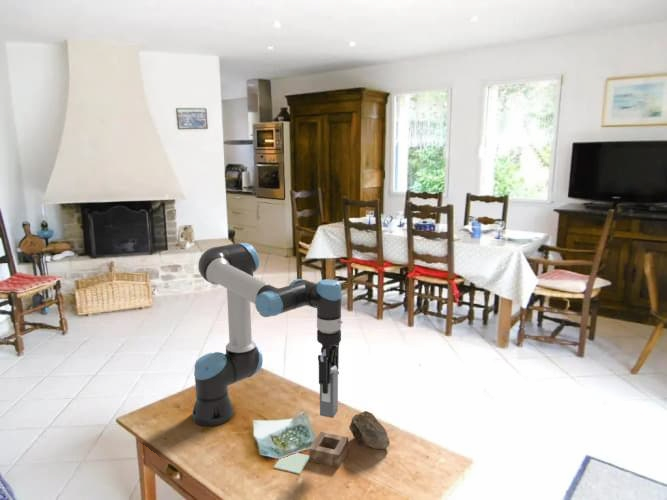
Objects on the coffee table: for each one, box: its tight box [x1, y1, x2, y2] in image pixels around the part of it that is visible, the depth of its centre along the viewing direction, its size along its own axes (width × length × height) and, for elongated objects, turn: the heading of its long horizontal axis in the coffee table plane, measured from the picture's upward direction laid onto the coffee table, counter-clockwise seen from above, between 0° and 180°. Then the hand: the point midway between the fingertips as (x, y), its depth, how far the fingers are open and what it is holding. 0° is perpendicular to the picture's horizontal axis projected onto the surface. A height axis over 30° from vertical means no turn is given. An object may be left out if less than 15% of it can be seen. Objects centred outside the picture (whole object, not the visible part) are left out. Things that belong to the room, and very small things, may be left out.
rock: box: [349, 410, 391, 450], centre depth 162 cm, size 15×8×15 cm
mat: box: [273, 452, 310, 475], centre depth 153 cm, size 9×9×1 cm
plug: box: [319, 365, 339, 419], centre depth 152 cm, size 5×5×16 cm
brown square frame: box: [309, 431, 349, 468], centre depth 156 cm, size 10×10×4 cm
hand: (328, 397), depth 153 cm, fingers closed on plug, 4 cm apart
